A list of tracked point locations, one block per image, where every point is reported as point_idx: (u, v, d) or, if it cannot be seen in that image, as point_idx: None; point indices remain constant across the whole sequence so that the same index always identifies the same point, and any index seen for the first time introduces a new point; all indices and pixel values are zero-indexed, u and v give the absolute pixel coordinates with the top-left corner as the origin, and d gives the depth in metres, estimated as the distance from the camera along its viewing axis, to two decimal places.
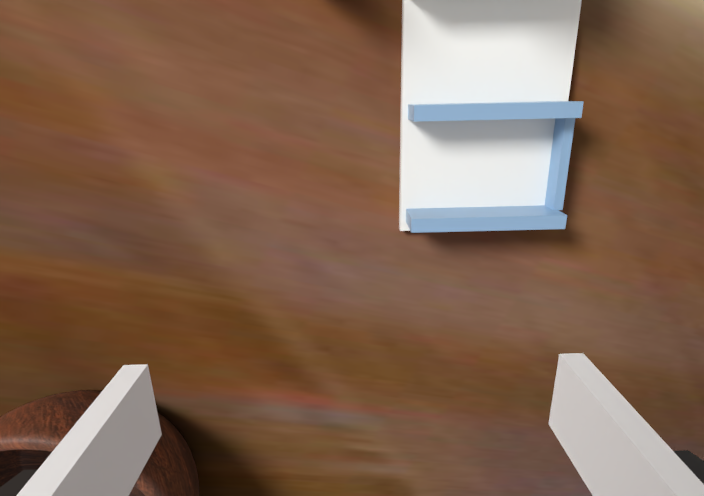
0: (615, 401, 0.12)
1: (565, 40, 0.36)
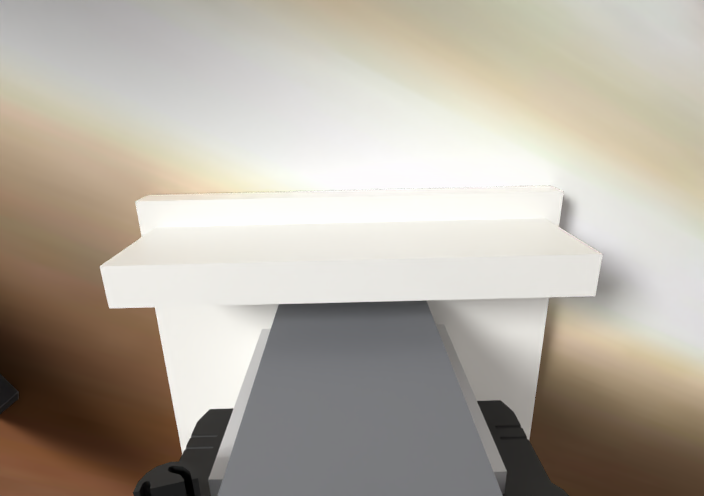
0: None
1: None
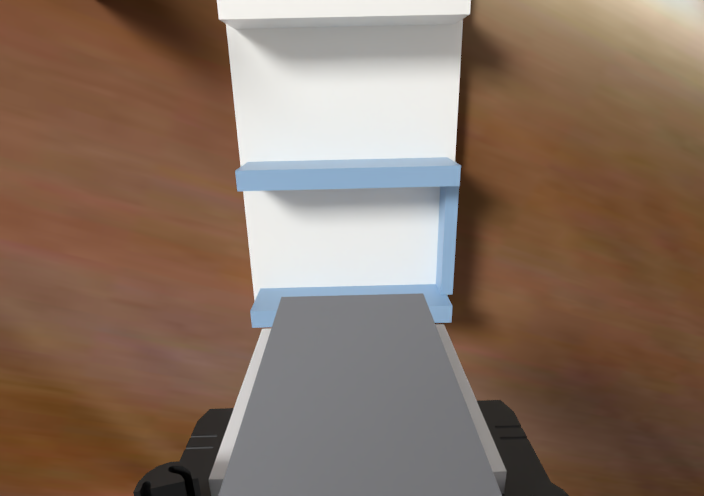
0: None
1: (444, 81, 0.27)
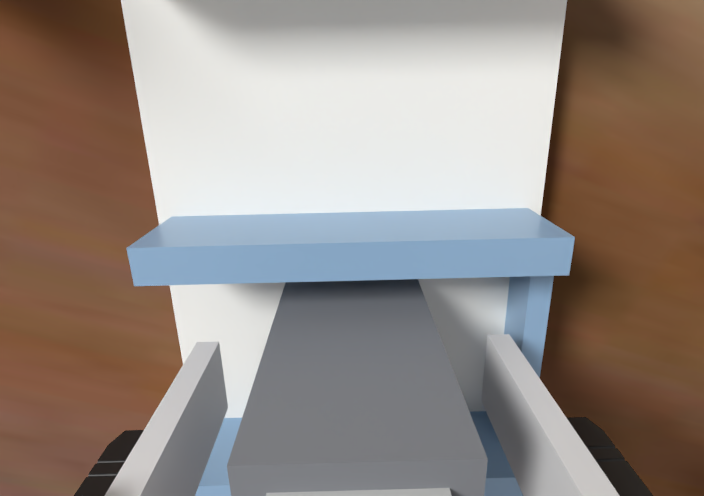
0: (526, 374, 0.13)
1: (531, 72, 0.15)
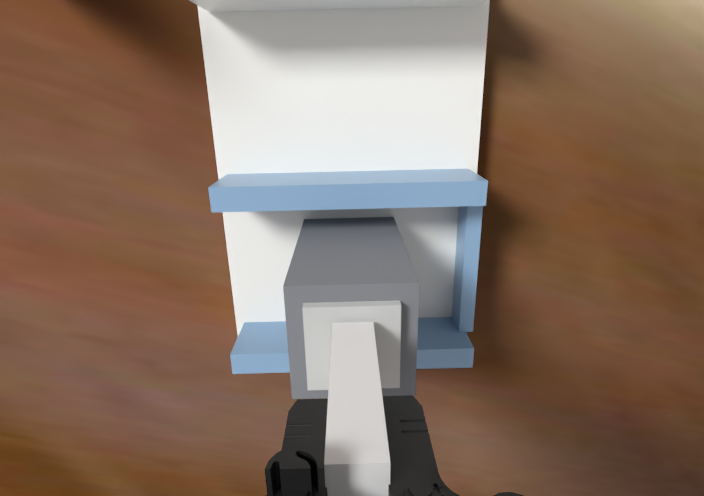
0: (367, 357, 0.14)
1: (466, 77, 0.22)
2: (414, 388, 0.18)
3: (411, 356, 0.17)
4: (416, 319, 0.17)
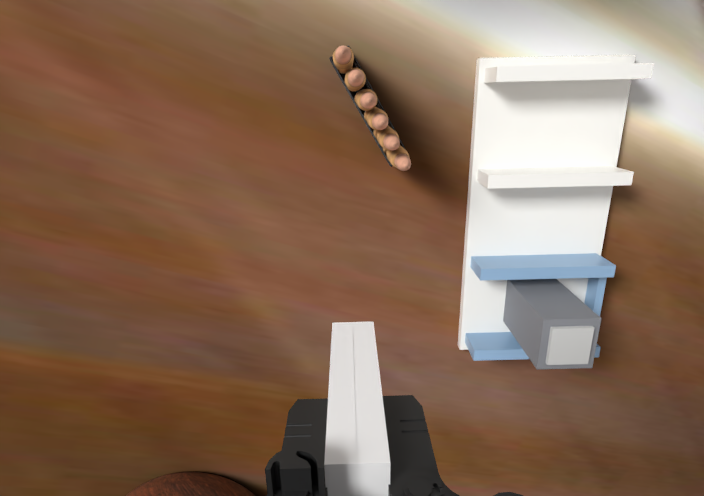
0: (367, 357, 0.14)
1: (600, 210, 0.44)
2: (592, 364, 0.40)
3: (593, 350, 0.39)
4: (597, 333, 0.38)
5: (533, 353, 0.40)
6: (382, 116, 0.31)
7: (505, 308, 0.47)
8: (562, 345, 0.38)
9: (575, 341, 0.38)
